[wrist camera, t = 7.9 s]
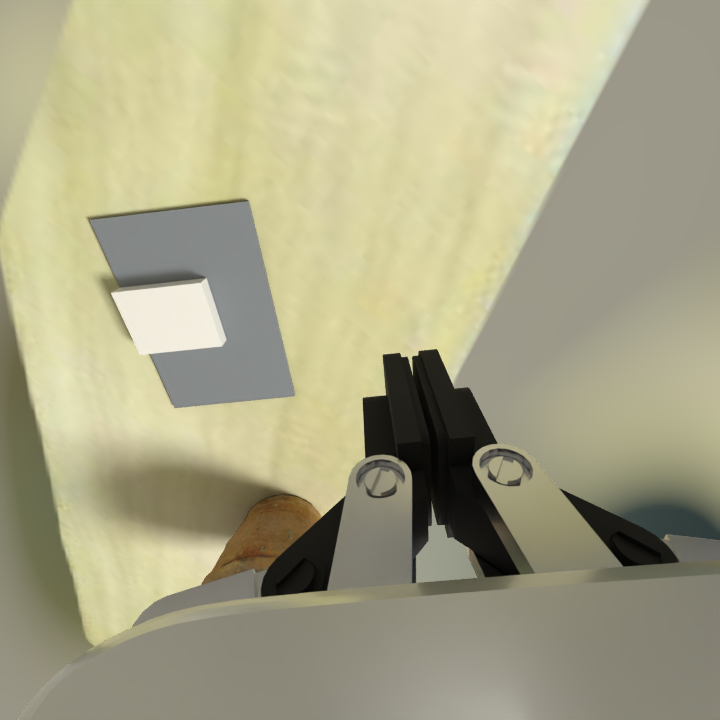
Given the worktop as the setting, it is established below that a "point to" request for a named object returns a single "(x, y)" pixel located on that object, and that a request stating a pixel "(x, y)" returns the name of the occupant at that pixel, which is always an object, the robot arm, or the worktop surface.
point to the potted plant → (264, 535)
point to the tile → (170, 316)
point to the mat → (229, 290)
